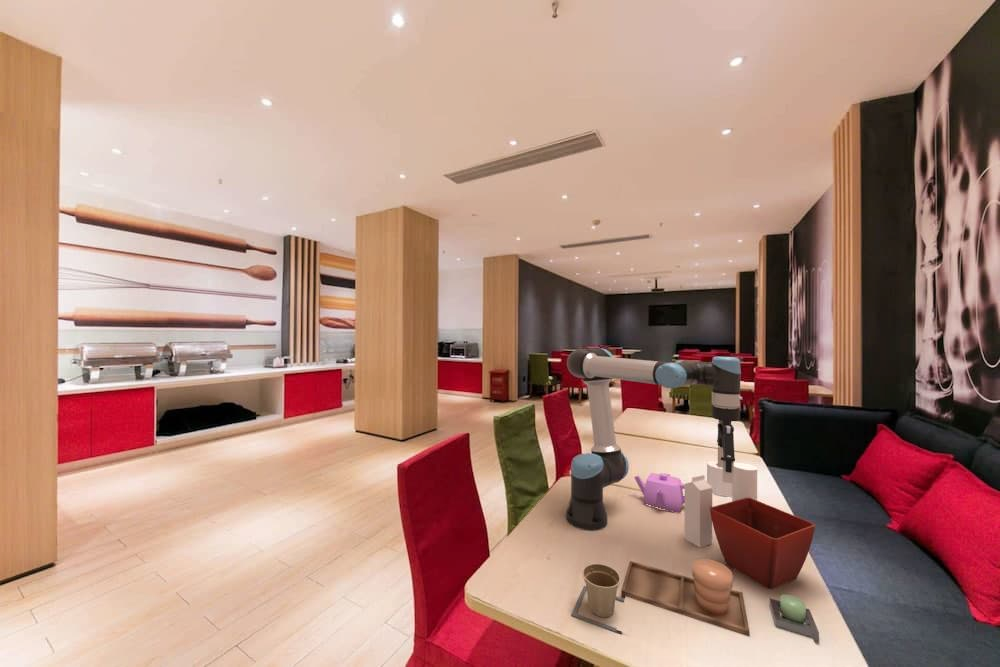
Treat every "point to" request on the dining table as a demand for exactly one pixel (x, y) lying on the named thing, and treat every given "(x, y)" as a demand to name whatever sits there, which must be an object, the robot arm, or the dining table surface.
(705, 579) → the stacked pebble cairn
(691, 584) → the brown divided tray
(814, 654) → the dining table surface
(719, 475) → the toilet paper
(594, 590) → the flower pot
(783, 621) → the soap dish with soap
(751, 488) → the cylindrical container
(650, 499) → the teakettle
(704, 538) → the milk
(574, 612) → the square
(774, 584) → the plant pot
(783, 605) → the green soap bar
